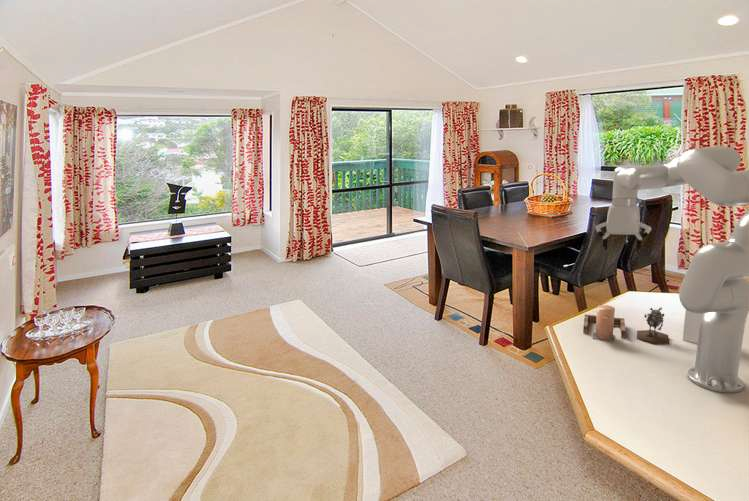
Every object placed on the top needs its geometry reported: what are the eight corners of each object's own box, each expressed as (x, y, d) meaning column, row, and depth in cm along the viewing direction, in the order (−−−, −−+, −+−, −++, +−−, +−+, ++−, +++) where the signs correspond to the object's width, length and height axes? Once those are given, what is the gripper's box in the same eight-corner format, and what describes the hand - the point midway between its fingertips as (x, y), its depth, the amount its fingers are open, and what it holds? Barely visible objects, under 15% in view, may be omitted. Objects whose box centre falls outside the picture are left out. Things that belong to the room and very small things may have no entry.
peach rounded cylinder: (612, 334, 154) (614, 306, 151) (613, 343, 148) (615, 313, 145) (595, 332, 157) (597, 304, 154) (595, 341, 150) (596, 311, 148)
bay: (625, 338, 151) (625, 331, 150) (583, 333, 157) (583, 326, 157) (623, 325, 162) (624, 318, 161) (584, 321, 168) (584, 314, 167)
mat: (615, 341, 149) (615, 340, 149) (592, 338, 153) (592, 338, 153) (614, 335, 154) (614, 335, 154) (592, 333, 157) (592, 332, 157)
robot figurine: (628, 336, 153) (630, 304, 150) (643, 329, 157) (645, 298, 154) (661, 347, 143) (664, 313, 141) (676, 340, 148) (679, 307, 145)
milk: (703, 345, 143) (710, 283, 138) (681, 339, 148) (688, 279, 142) (709, 339, 146) (717, 278, 141) (688, 334, 151) (695, 275, 146)
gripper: (652, 200, 148) (648, 248, 152) (596, 201, 156) (594, 246, 160) (654, 203, 142) (650, 253, 146) (596, 203, 150) (593, 251, 154)
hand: (621, 249), depth 153 cm, fingers open, 9 cm apart
